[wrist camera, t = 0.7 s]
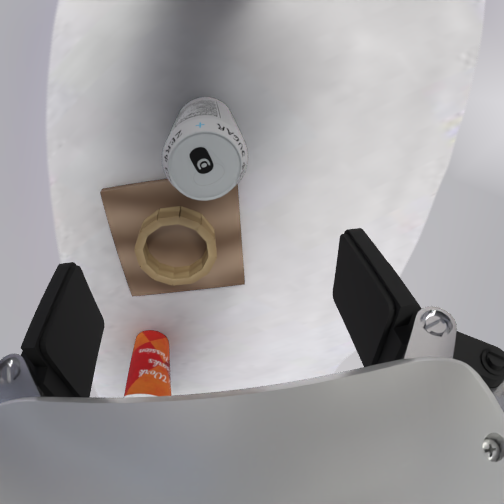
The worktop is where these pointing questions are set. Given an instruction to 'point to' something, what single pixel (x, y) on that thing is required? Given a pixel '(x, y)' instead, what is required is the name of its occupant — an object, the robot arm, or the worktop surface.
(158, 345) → the paper cup
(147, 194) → the ring stand
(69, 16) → the worktop surface
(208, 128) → the energy drink can
